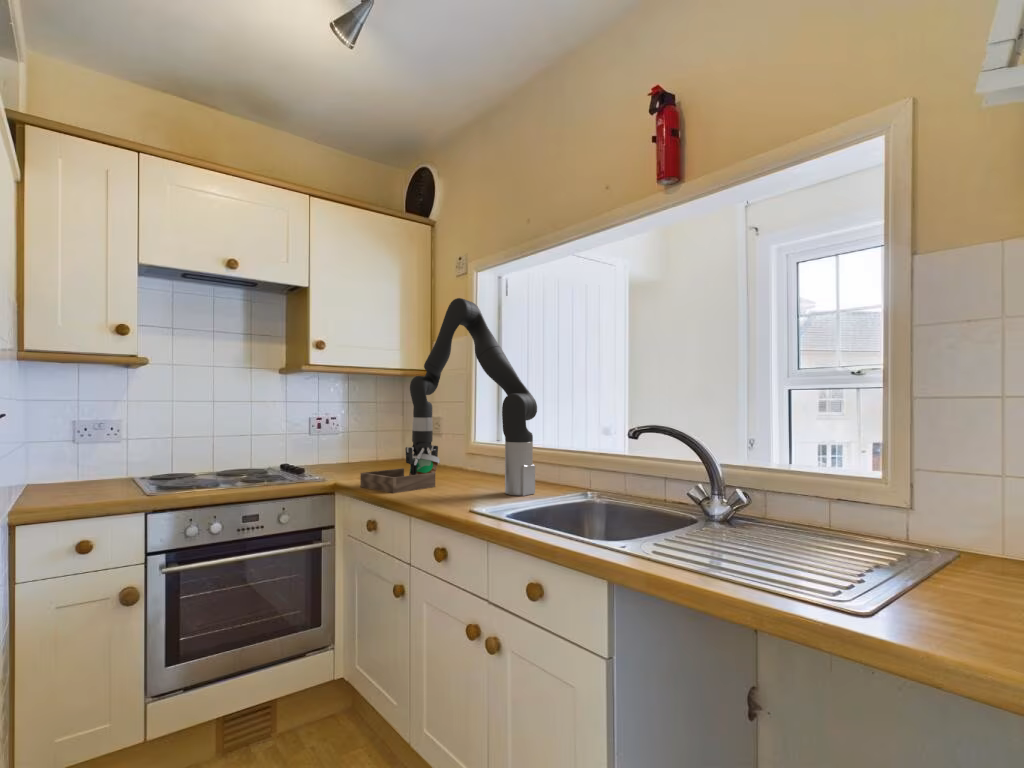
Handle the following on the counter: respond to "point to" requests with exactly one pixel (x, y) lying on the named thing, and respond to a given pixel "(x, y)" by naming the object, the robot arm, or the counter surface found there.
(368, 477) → the walnut box
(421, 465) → the food container
